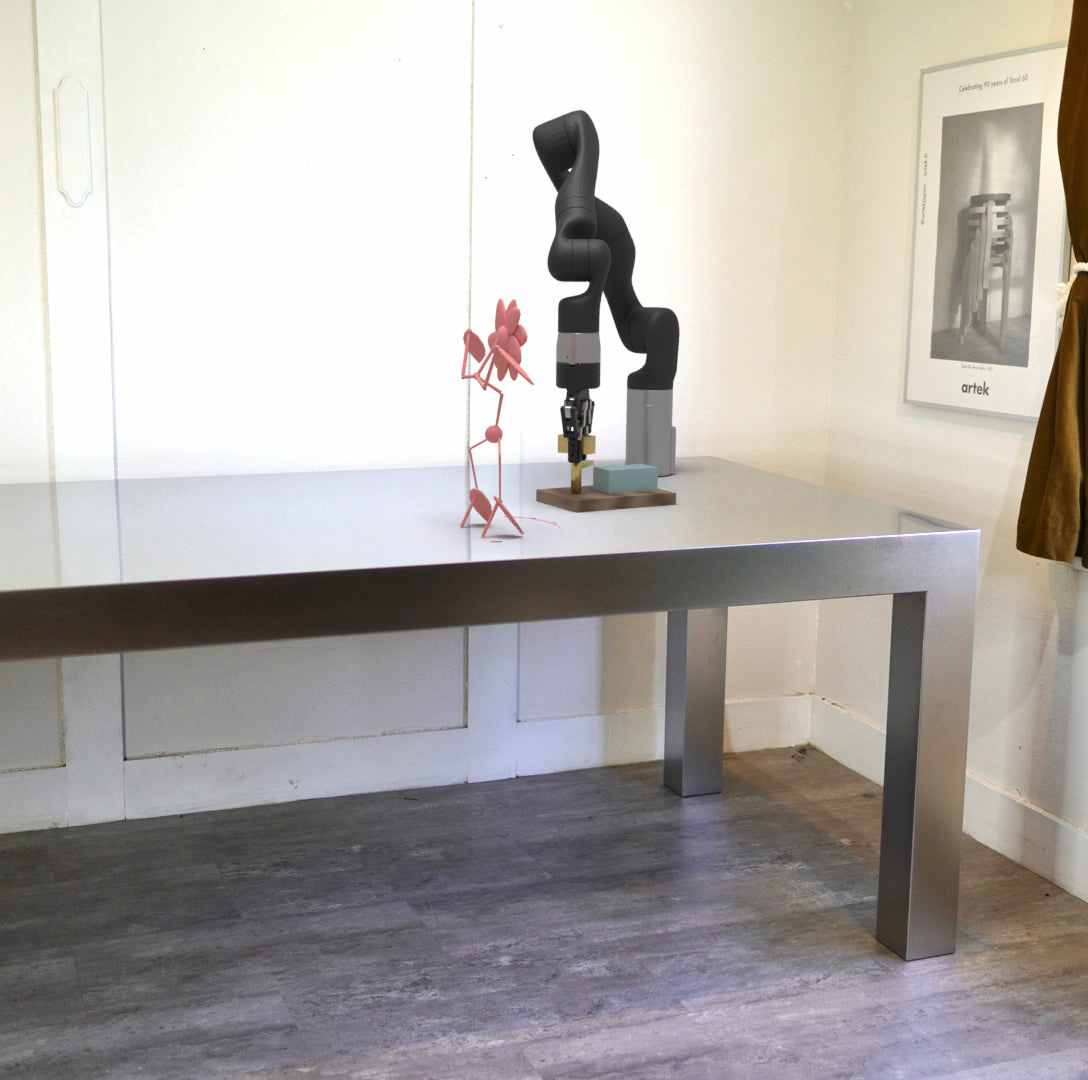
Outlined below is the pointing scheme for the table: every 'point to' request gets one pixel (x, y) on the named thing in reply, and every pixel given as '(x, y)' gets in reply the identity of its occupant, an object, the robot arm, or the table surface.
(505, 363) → the pink stick flower
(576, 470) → the t key
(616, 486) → the cover
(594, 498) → the base
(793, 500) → the table surface
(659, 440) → the robot arm
